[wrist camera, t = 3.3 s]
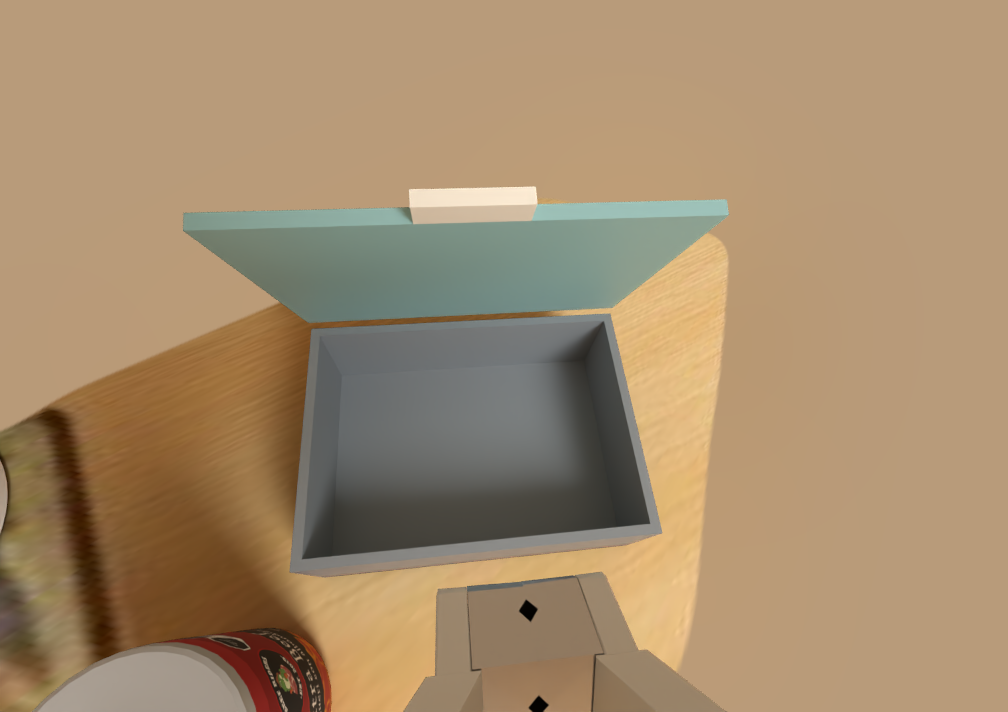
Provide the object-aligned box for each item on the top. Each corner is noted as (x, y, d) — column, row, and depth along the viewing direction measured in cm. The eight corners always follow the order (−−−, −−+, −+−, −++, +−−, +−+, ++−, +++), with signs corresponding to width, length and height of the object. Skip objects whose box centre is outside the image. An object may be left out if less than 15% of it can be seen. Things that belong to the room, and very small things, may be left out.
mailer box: (324, 577, 27) (289, 572, 22) (336, 372, 33) (311, 328, 28) (626, 545, 29) (662, 533, 24) (588, 356, 35) (610, 313, 30)
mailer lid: (160, 213, 14) (160, 194, 14) (308, 323, 28) (308, 312, 28) (748, 199, 16) (746, 182, 16) (612, 307, 30) (611, 298, 30)
